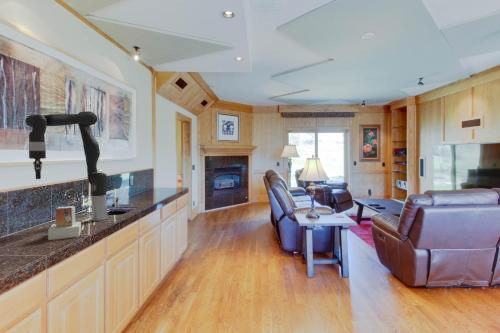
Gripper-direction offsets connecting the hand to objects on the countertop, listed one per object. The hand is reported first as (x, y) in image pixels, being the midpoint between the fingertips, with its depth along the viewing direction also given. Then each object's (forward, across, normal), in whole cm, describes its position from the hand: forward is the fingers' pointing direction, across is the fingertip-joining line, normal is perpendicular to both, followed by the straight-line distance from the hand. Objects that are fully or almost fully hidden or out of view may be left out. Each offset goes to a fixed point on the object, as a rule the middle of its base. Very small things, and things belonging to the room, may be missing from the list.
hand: (38, 178), depth 155 cm
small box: (+27, -11, -12) cm, 31 cm away
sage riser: (+33, -11, -12) cm, 36 cm away
